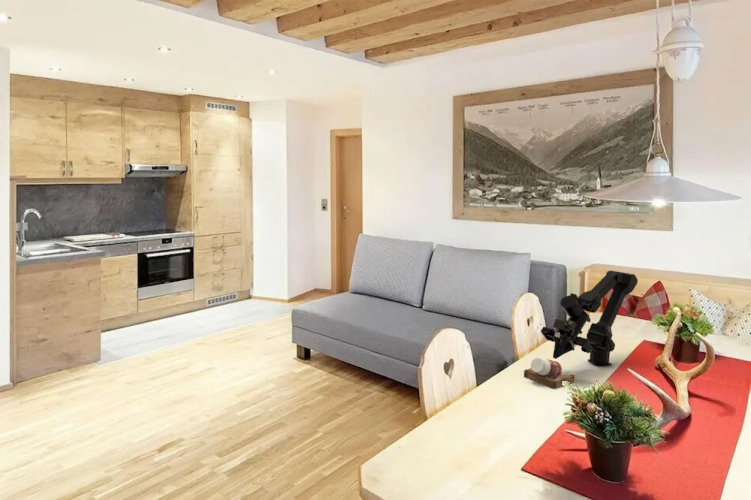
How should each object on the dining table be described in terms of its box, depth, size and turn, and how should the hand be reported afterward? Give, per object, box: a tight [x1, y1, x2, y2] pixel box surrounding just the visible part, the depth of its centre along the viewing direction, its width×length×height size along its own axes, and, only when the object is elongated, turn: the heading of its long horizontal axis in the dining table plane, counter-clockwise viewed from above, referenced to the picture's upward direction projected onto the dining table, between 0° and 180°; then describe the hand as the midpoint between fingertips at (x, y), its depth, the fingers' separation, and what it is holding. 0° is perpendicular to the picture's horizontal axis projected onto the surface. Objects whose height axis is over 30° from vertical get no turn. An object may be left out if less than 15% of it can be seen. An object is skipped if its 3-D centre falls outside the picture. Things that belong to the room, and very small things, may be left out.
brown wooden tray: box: [523, 367, 576, 390], centre depth 188 cm, size 12×13×2 cm
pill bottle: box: [530, 357, 563, 379], centre depth 186 cm, size 6×6×11 cm
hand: (554, 357), depth 188 cm, fingers closed
